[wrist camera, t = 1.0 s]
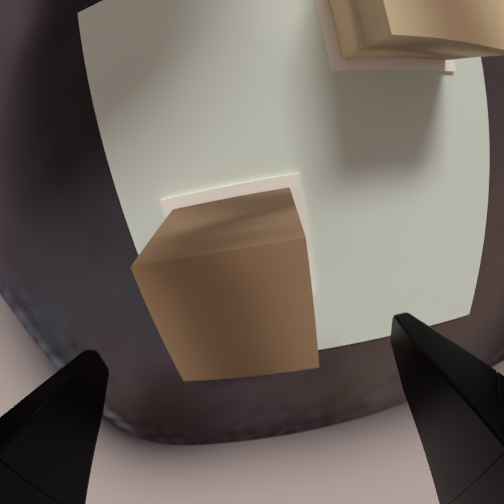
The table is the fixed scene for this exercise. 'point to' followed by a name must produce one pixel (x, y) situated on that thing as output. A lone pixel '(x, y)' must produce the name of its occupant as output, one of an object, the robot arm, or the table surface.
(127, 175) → the board
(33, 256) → the table surface
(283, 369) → the walnut block
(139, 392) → the table surface
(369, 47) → the oak block
